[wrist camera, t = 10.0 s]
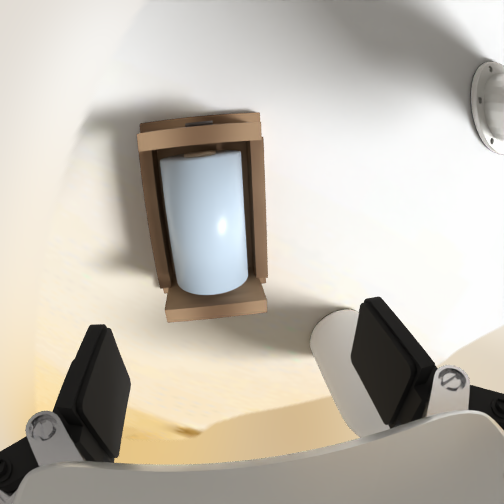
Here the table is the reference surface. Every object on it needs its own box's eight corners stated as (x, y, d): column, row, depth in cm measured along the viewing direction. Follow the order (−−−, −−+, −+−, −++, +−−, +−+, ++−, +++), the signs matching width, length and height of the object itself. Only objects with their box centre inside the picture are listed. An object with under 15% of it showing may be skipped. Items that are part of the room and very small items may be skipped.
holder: (257, 112, 25) (275, 109, 19) (263, 278, 31) (279, 318, 25) (142, 123, 24) (121, 124, 17) (165, 288, 30) (157, 331, 24)
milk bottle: (295, 341, 36) (355, 491, 17) (341, 296, 34) (437, 436, 16) (333, 364, 38) (395, 490, 20) (376, 324, 37) (461, 443, 19)
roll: (167, 152, 24) (151, 162, 19) (238, 146, 25) (243, 153, 19) (181, 264, 29) (173, 299, 23) (245, 259, 29) (251, 294, 24)
